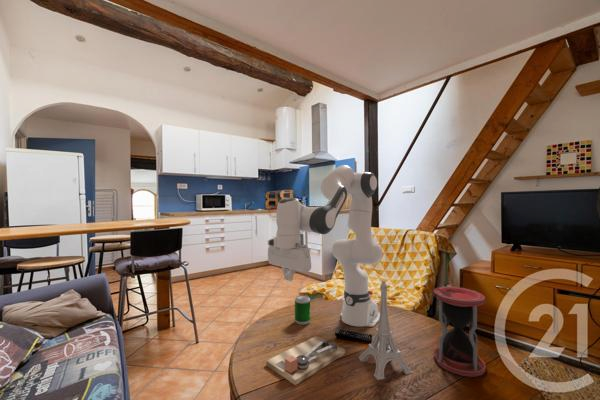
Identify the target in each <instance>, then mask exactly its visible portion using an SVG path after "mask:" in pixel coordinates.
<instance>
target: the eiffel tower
mask: <svg viewBox="0 0 600 400" xmlns="http://www.w3.org/2000/svg"><path fill="white" fill-rule="evenodd" d="M379 286H380V288H379V291H380V308H379V312H380V316H379V321H378V322H377V324H378V326H377V328H376V329H375V331H376V333H375V335H374V338H373V340H372V341H371V343H369V344H368V347H367V348H366V349H365V350H364V351H363V353H362V354H361V355H359V356H358V357H357V358H358V359H359V361H360V362H362V363H363V362H368V361H369V357H371V356H373V357H374V360H375V371H374V374H373V376H374V377H375V379H376V380H377V381H380V380H384V379H386V377H385V368H386V366H387V363H388V362H390V361H396V362H398V365H400V370H401V371H402V372H403V373H404V374H405V375H409V374H413V373H414V371H412V370H411V368H410V367H409V366H408V364H407V363H406V361H405V359H404V358H403V356H402V355H401V353H402V351H400V350H399V349H397V346H396V344H395V341H394V339H393V336H392V334H393V332H392V331H391V326H390V321H389V311H388V298H387V297H388V296H387V295H388V294H387V293H388V291H389V289H388V285H387V284H386V280H384V279H383V280H382V281H381V284H380V285H379Z"/></svg>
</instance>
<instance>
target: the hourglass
mask: <svg viewBox="0 0 600 400" xmlns="http://www.w3.org/2000/svg"><path fill="white" fill-rule="evenodd" d="M432 291H433V292H432V294H433V296H434V298H436V299H437V300H438V320H439V323H440V324H441V325H442V328H441V331H442V333H441V334H440V336H439V339H438V343H439V344H438V348H436V349H434V350H433V351H434V352H433V359H434V362H435V363H436V364H437V366H439V367H441V368H442V369H444V370H445V371H447V372H450V373H452V374H456V375H459V376H462V377H469V378H470V377H472V378H473V377H480V376H482V375H484V373H486V362H484V360H483V358H481V357H480V356H478V335H477V333H476V332H475V331H476V330H477V328H478V306H483V305H484V304H485V303H486V297H485V296H484V295H483V294H482V293H480V292H478V291H476V290H472V289H469V288H464V287H458V286H457V287H456V286H438V287H435V288H433V290H432ZM443 317H444V319H443ZM449 324H451V325H452V326H453V328H452V329H451V330H449V331H448V327H449V326H450V325H449ZM466 326H468V328H469V331H468V333H466V331H465V330H463V329H464V328H465V327H466Z"/></svg>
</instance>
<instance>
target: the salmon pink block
mask: <svg viewBox="0 0 600 400" xmlns="http://www.w3.org/2000/svg"><path fill="white" fill-rule="evenodd" d="M285 370H287V371H288V372H290V373H292V372H294V371H295V370H297V358H295V357H294V356H292V355H291V356H289V357H287V358H285Z"/></svg>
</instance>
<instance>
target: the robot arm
mask: <svg viewBox="0 0 600 400" xmlns="http://www.w3.org/2000/svg"><path fill="white" fill-rule="evenodd" d="M377 188H378V178H377V176H376V175H375V174H374V173H373V172H369V171H365V172H363V171H361V172H360V171H359V172H358V171H357V172H355V171H354V170H353V168H351V166H349V165H346V164H341V165H339V166H337V167H336V168H334V169H332V170H331V171H330V172H329V173H328V174H327V175H326V176H325V177H324V178H323V180H322V181H321V183H320V191H321V193H322V195H323V196H324V198H326V199H327V200H328V202H326V204H325V205H321V206H306V205H304V204H303V203H301V202H300V200H299V198H297V197H289V198H288V197H287V198H283V199H280V200H279V201H278V202H277V207H276V214H275V215H276V217H275V218H276V219H275V220H276V229H277V230H276V236H275V237H273V238H270V239H268V240H267V245H268V247H267V261H268V264H269V265H273V266H277V267H281V271H282V273H283V279H284V280H286V281H289V282H292V281H293V280H294V275H295V273H296V272H300V273H307V272H310V271H311V270H312V259H311V253H310V248H309V247H308V246H307V245H306V244H302V243H301V232H306V233H315V234H319V235H327V234H329V233H330V232H331V231H332V230H333V229H334V227H335V224H336V221H337V218H338V215H339V214H340V213H341V210H342V208H343V207H344V204H345V203H346V200H347V198H348V196H351V201H350V206H349V212H348V222H347V227H348V228H349V229H350V231H352V232H353V233H354V234H355V239H351V238H350V239H349V238H343V239H342V238H341V239H337V240H335V241H334V243H332V244H333V245H332V248H331V252H332V256H333V257H334V258H335V259H336V260H337V261H338V263H339V264H340V266H341V269H342V271H343V272H342V273H343V276H344V290H343V298H344V299H342V307H341V308H342V309H341V312H340V317H341V321H342V323H344V324H346V325H349V326H351V327H371V328H373V327H375V326H376V325H377V324H378V323H379V316H380V311H379V306H378V304H377V303H376V302H375V301H374V300H373V299H372V298H371V296H373V294H374V291H373V290H370V289H369V277H368V274H367V273H366V271H364V270H363V269H362V268H361V266H360V265H367V266H368V265H371V266H372V265H377V264H379V263H380V262H381V260H382V258H383V255H384V254H383V249H382V247H381V245H380V244H379V243H378V242H377V241H376V239H375V238H374V236H373V232H372V215H373V199H372V198H373V195H374V194H375V192H376V190H377ZM359 264H360V265H359Z"/></svg>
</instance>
